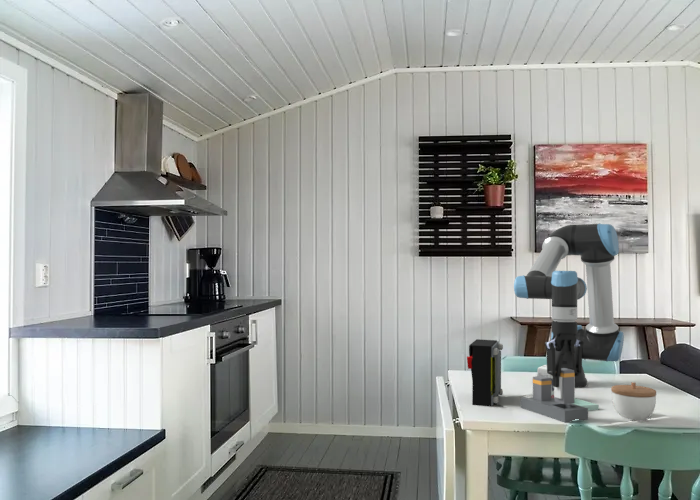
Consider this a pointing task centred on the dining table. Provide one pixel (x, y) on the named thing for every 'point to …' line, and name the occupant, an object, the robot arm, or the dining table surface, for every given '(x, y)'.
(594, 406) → the tray
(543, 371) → the ink box
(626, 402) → the lidded bowl
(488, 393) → the electrical component
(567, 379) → the plug
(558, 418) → the pdu strip
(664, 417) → the dining table surface
